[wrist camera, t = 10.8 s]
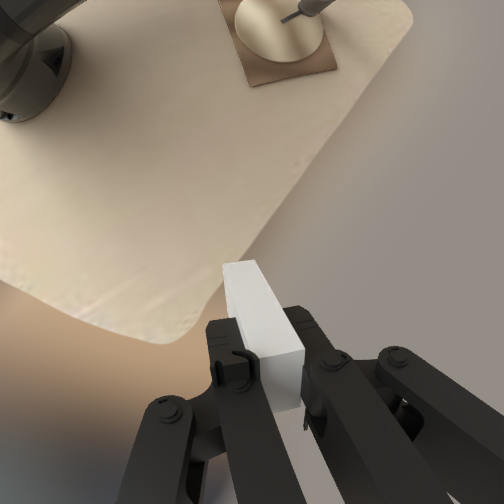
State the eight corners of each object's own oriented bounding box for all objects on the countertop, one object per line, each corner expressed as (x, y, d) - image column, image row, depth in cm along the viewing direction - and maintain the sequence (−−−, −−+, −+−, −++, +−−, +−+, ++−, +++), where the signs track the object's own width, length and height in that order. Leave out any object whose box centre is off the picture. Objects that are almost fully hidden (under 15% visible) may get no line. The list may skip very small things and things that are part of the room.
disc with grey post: (273, 78, 33) (310, 56, 22) (215, 15, 29) (229, -28, 18) (338, 37, 32) (386, 13, 21) (285, -21, 27) (319, -62, 17)
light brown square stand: (214, -9, 28) (215, -14, 26) (299, -20, 29) (304, -25, 27) (250, 87, 34) (253, 84, 33) (335, 69, 35) (341, 67, 34)
